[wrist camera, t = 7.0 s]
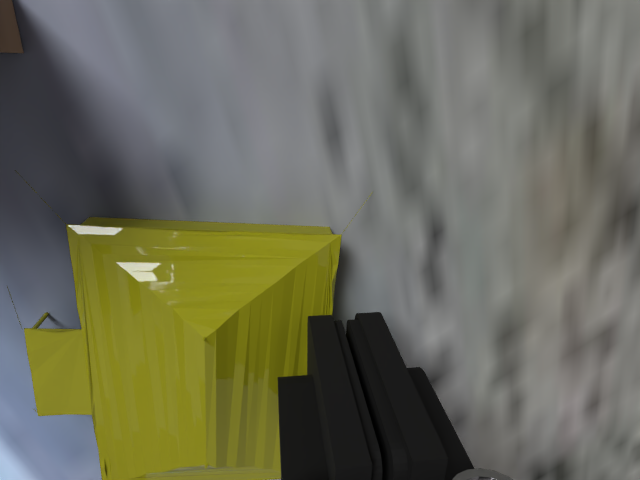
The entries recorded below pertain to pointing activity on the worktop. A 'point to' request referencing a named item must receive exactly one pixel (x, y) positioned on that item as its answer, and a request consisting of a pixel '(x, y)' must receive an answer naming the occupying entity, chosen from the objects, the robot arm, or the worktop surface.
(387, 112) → the worktop surface
